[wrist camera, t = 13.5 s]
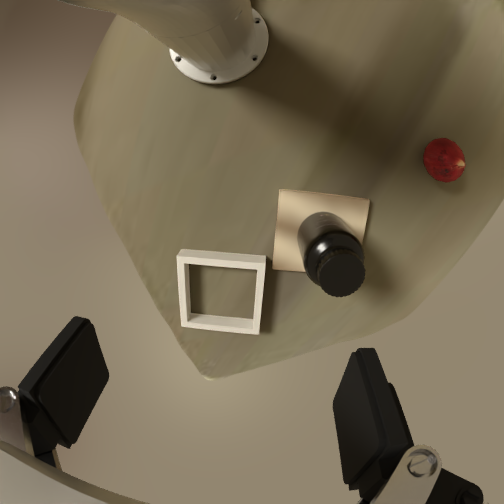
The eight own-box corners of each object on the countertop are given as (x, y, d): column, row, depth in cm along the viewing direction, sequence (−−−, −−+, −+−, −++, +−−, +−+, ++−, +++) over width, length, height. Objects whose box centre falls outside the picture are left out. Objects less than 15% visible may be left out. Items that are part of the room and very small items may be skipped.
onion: (424, 184, 35) (454, 197, 28) (407, 149, 33) (436, 155, 26) (451, 164, 33) (484, 174, 26) (435, 129, 32) (467, 132, 24)
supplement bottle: (344, 258, 39) (369, 306, 28) (295, 258, 40) (304, 308, 29) (348, 210, 36) (379, 244, 25) (297, 209, 37) (308, 244, 26)
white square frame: (181, 248, 41) (176, 255, 39) (265, 255, 41) (265, 263, 39) (185, 317, 46) (181, 326, 44) (259, 324, 46) (258, 334, 43)
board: (279, 188, 37) (279, 190, 36) (367, 198, 37) (370, 200, 36) (272, 266, 41) (272, 269, 40) (353, 272, 41) (355, 275, 40)
